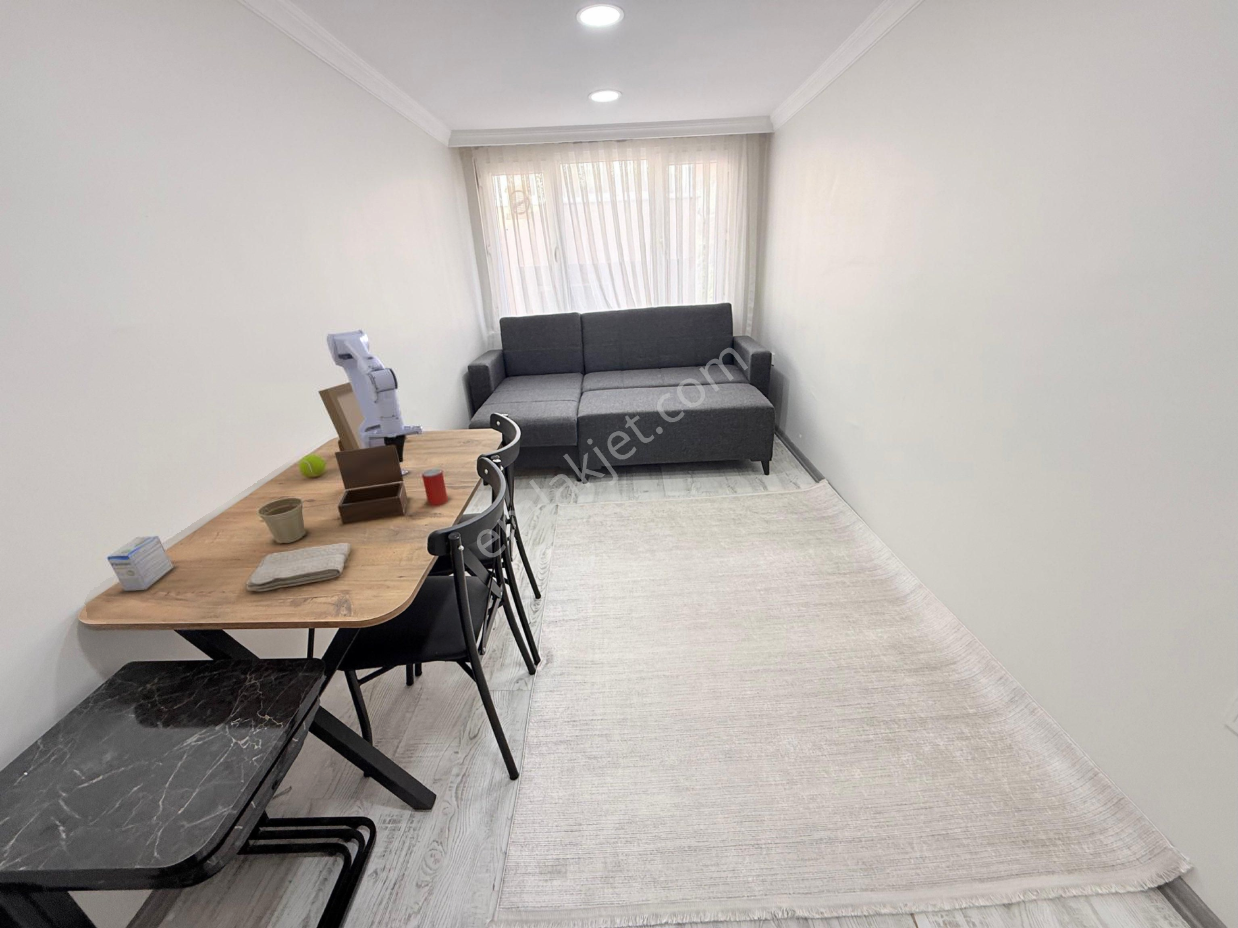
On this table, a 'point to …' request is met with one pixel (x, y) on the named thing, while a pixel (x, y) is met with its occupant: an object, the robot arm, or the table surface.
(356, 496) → the storage box
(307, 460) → the tennis ball
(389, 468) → the lid
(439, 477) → the can
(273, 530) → the flower pot
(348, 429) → the photo frame
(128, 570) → the medicine box
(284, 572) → the washcloth
